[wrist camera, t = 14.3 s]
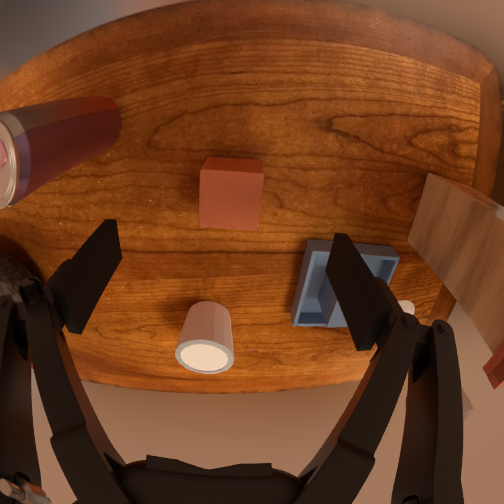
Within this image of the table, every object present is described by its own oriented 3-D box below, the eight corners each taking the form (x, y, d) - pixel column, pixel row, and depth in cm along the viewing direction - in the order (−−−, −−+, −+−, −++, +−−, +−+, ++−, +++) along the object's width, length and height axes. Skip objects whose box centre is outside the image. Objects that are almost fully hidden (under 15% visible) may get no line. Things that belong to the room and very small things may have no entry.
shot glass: (243, 306, 34) (243, 349, 28) (224, 338, 37) (223, 379, 31) (190, 290, 33) (181, 333, 27) (178, 325, 36) (169, 365, 30)
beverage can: (133, 133, 23) (32, 183, 10) (89, 162, 24) (-9, 228, 11) (110, 84, 20) (-4, 94, 7) (68, 116, 21) (-41, 155, 8)
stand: (478, 182, 25) (593, 274, 7) (453, 252, 31) (539, 362, 13) (423, 162, 25) (576, 273, 6) (397, 246, 30) (493, 390, 12)
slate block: (364, 267, 31) (380, 294, 27) (352, 299, 34) (364, 326, 29) (327, 265, 31) (339, 293, 26) (317, 298, 33) (326, 327, 29)
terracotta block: (260, 159, 25) (264, 173, 20) (255, 208, 27) (258, 231, 23) (207, 156, 24) (199, 169, 20) (205, 204, 27) (198, 227, 23)
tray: (391, 246, 30) (400, 257, 28) (363, 312, 36) (369, 325, 34) (307, 238, 29) (312, 250, 27) (289, 312, 35) (292, 326, 33)
